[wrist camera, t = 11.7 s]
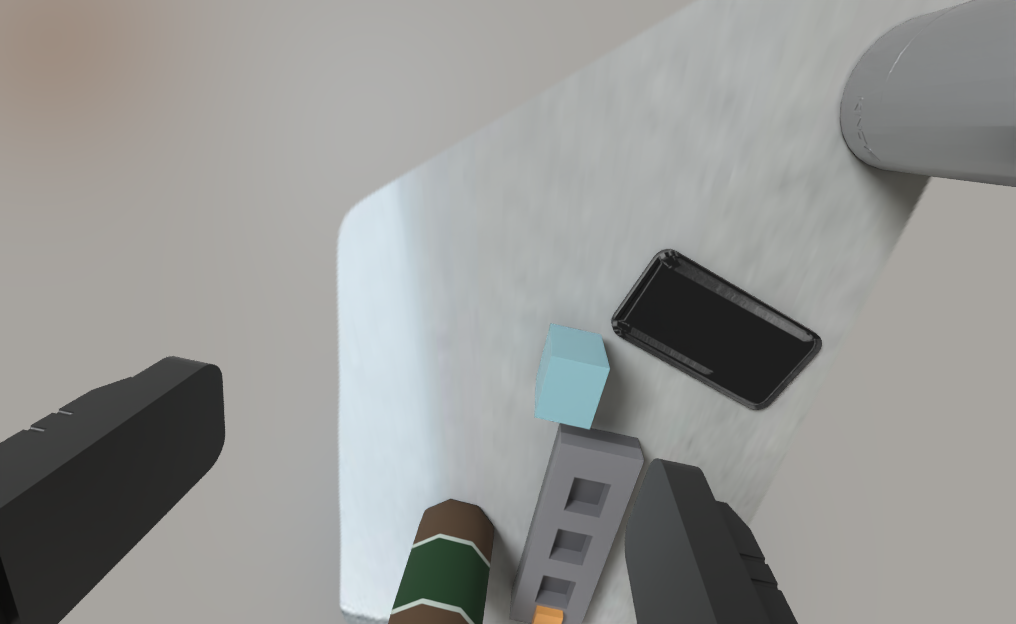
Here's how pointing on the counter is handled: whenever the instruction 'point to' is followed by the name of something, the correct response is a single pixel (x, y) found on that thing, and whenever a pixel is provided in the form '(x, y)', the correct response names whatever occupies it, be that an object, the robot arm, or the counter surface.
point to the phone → (714, 330)
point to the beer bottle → (446, 568)
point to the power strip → (574, 524)
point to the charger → (570, 376)
